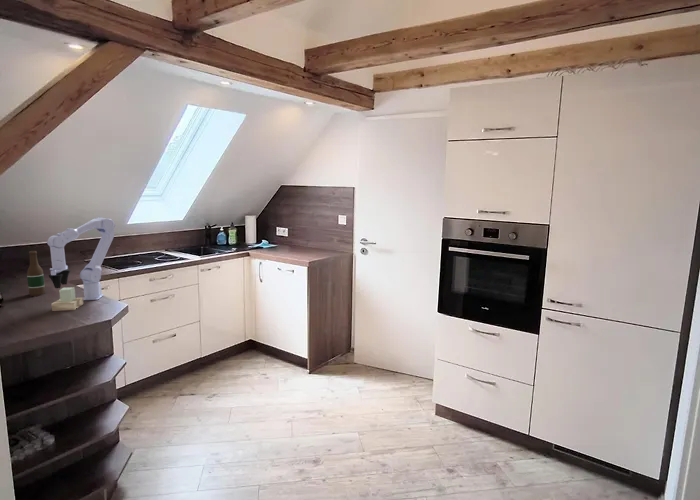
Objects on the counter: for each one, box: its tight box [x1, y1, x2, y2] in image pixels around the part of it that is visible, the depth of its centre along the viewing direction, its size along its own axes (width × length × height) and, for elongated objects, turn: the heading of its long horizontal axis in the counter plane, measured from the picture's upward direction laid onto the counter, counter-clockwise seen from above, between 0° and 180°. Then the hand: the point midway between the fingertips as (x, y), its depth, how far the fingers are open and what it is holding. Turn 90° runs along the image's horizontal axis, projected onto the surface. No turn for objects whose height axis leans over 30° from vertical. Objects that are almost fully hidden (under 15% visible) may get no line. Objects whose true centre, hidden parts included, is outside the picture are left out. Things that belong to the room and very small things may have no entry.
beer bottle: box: [26, 250, 46, 297], centre depth 237 cm, size 8×8×24 cm
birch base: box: [51, 296, 84, 312], centre depth 216 cm, size 10×10×4 cm
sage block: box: [58, 286, 77, 302], centre depth 215 cm, size 5×5×6 cm
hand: (61, 286), depth 218 cm, fingers open, 7 cm apart
